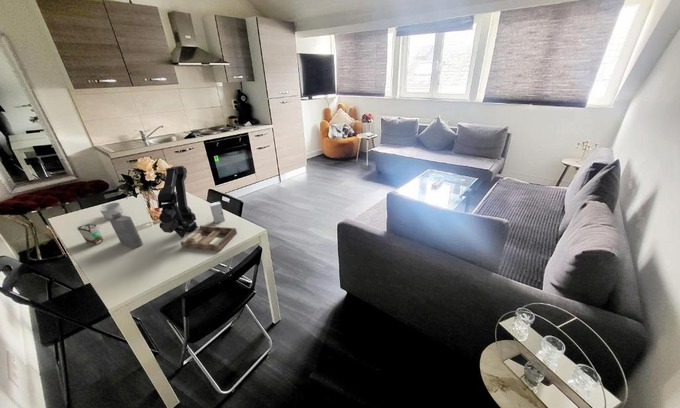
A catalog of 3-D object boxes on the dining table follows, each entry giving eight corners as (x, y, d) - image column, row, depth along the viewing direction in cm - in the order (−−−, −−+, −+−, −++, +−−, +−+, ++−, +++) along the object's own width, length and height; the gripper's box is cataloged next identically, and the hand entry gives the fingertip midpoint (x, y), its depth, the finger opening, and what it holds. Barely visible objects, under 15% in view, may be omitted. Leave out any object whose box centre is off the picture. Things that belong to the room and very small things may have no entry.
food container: (110, 239, 153) (102, 224, 148) (99, 245, 148) (90, 230, 143) (96, 235, 157) (88, 221, 152) (84, 241, 152) (76, 227, 147)
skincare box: (215, 223, 165) (210, 206, 159) (213, 220, 168) (208, 203, 162) (225, 220, 168) (220, 203, 162) (224, 217, 171) (219, 201, 165)
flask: (117, 243, 149) (101, 213, 139) (128, 238, 153) (113, 208, 144) (134, 249, 143) (118, 218, 134) (144, 243, 148) (130, 213, 138)
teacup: (127, 215, 179) (122, 204, 175) (108, 222, 171) (102, 211, 167) (118, 210, 185) (113, 200, 182) (99, 217, 177) (94, 206, 174)
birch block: (188, 242, 144) (186, 238, 143) (194, 237, 148) (192, 232, 147) (196, 243, 143) (194, 238, 142) (202, 237, 147) (200, 233, 146)
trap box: (182, 247, 143) (180, 241, 142) (202, 230, 158) (200, 224, 156) (220, 251, 139) (218, 245, 137) (237, 233, 154) (235, 227, 152)
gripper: (146, 220, 134) (157, 244, 141) (178, 222, 131) (187, 247, 138) (163, 209, 144) (172, 233, 151) (193, 211, 140) (201, 235, 148)
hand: (182, 237), depth 147 cm, fingers closed
